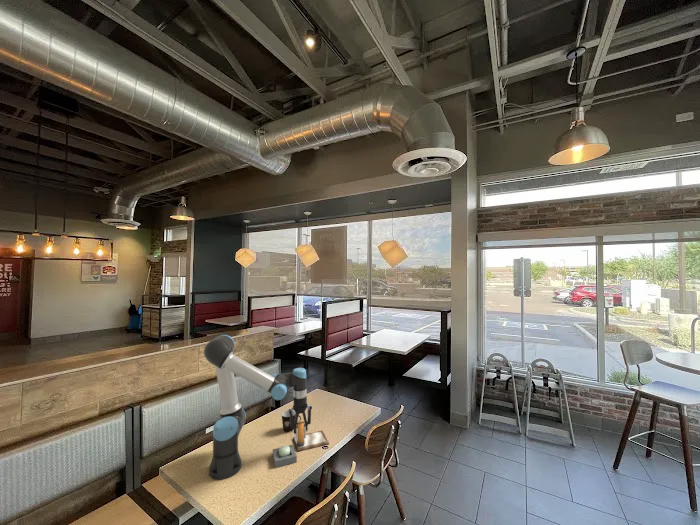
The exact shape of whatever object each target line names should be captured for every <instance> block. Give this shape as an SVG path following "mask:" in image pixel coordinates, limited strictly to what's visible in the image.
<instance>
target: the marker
mask: <svg viewBox="0 0 700 525" xmlns="http://www.w3.org/2000/svg"><path fill="white" fill-rule="evenodd" d="M298 421H299V420H298ZM298 421H297V428H298V440H297V446H299V447H301V446H304V444H305V440H304V424H305V423H304V420H303V421H302V420H300V421H299V422H298Z"/></svg>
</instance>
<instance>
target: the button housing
mask: <svg viewBox="0 0 700 525" xmlns="http://www.w3.org/2000/svg"><path fill="white" fill-rule="evenodd" d="M288 446H289V447H290V456H286V457H282V458H280V457H279V448H280V447H277V448H273V449H272V458H273V463H274V464H273V465H274V468H280V467H283V466H287V465H290V464H295V463H297V459H298V457H297V454H296V450H295V448H294V447H295V446H294V445H293V444H290V445H288Z"/></svg>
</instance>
